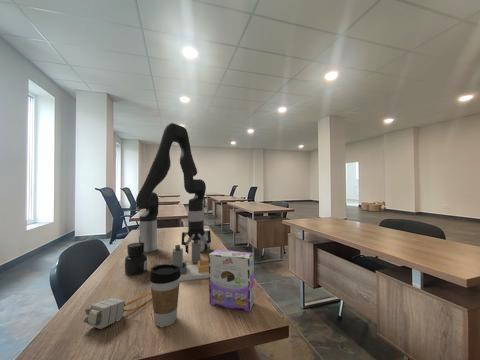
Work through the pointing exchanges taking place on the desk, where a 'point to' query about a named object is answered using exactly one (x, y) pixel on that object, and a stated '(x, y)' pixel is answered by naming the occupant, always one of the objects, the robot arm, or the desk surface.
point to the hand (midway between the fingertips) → (196, 252)
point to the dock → (189, 266)
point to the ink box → (204, 243)
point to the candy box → (231, 279)
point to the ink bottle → (135, 259)
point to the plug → (195, 251)
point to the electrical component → (107, 312)
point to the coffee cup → (165, 293)
